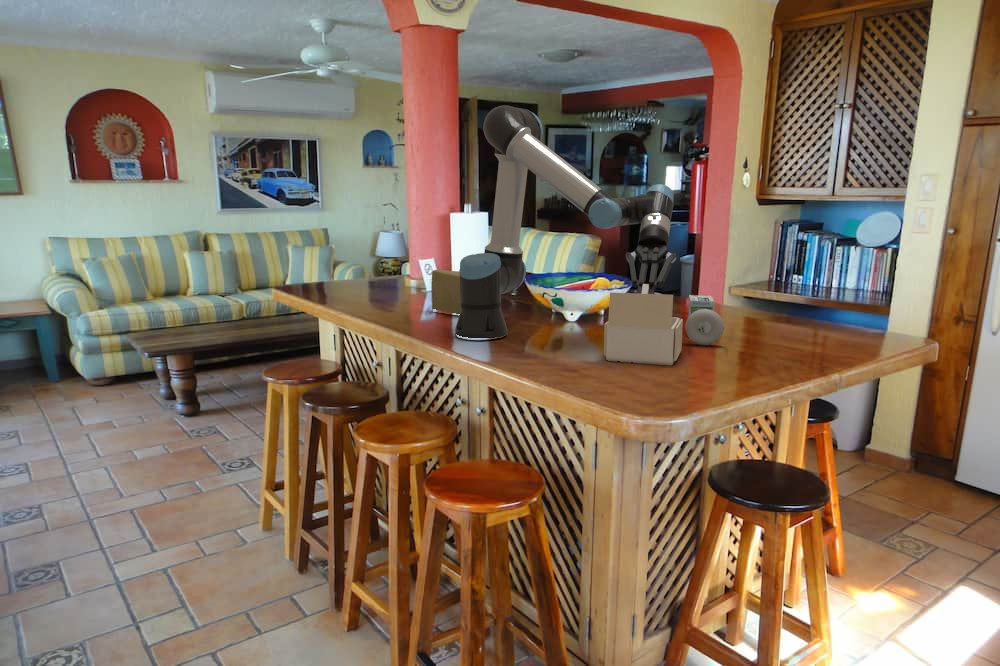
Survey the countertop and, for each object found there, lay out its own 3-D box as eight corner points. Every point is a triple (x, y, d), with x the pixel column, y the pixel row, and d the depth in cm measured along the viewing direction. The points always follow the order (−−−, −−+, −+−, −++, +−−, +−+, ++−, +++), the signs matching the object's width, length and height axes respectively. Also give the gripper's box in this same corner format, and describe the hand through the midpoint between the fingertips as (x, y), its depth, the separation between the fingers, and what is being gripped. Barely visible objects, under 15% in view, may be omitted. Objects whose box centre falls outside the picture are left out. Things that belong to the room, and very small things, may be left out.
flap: (608, 325, 168) (609, 292, 167) (608, 325, 168) (610, 292, 168) (671, 328, 163) (673, 294, 162) (671, 328, 163) (673, 295, 163)
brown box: (423, 314, 237) (422, 270, 234) (441, 310, 245) (440, 267, 241) (475, 320, 224) (474, 274, 221) (492, 315, 232) (492, 271, 229)
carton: (602, 360, 171) (603, 324, 169) (614, 347, 184) (615, 314, 183) (675, 365, 165) (677, 329, 163) (682, 351, 178) (683, 317, 176)
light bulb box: (714, 339, 193) (716, 301, 191) (689, 338, 194) (691, 300, 192) (710, 331, 203) (712, 295, 201) (687, 330, 204) (688, 294, 202)
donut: (684, 345, 185) (685, 309, 183) (684, 343, 188) (686, 306, 186) (723, 348, 182) (725, 310, 180) (723, 345, 185) (725, 308, 183)
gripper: (627, 225, 179) (614, 298, 167) (679, 225, 175) (669, 300, 163) (630, 244, 185) (618, 316, 173) (680, 244, 181) (671, 318, 169)
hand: (643, 308), depth 168 cm, fingers closed
